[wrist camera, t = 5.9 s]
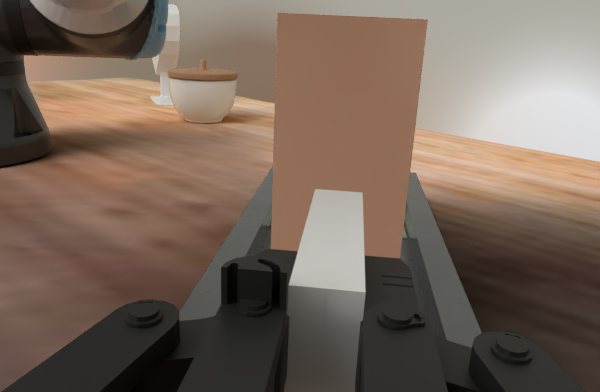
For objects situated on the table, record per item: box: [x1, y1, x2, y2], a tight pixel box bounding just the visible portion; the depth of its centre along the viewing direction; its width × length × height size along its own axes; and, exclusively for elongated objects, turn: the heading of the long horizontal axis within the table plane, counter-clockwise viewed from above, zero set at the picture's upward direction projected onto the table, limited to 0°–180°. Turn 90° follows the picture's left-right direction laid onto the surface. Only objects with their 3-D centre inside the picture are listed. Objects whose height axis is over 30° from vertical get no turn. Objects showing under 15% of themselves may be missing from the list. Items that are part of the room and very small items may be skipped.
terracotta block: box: [271, 13, 427, 258], centre depth 25 cm, size 6×6×14 cm
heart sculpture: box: [150, 4, 180, 106], centre depth 99 cm, size 16×5×18 cm, turn 23°
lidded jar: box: [168, 60, 237, 123], centre depth 81 cm, size 11×11×9 cm
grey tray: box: [179, 167, 482, 348], centre depth 34 cm, size 28×13×2 cm, turn 174°
